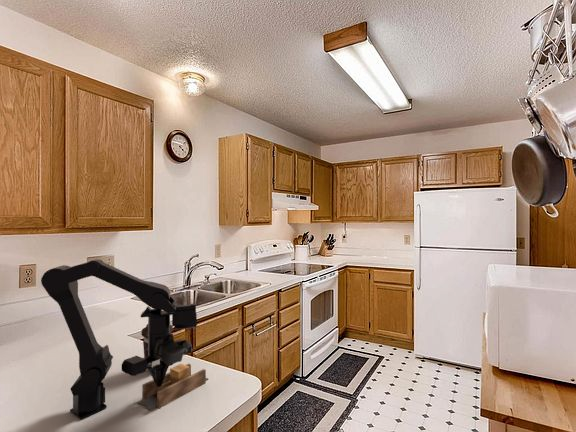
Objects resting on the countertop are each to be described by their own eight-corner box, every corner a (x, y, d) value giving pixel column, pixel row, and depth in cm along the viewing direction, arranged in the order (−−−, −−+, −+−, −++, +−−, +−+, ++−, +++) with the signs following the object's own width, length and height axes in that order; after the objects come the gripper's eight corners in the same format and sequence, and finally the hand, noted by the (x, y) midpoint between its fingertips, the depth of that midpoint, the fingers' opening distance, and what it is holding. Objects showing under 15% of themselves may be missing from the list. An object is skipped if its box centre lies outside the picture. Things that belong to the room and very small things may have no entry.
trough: (152, 411, 84) (152, 396, 84) (135, 402, 89) (135, 387, 89) (210, 380, 101) (210, 367, 101) (193, 373, 105) (193, 361, 105)
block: (178, 385, 93) (178, 372, 94) (170, 382, 96) (170, 368, 96) (189, 380, 97) (189, 366, 97) (181, 376, 99) (181, 363, 99)
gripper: (144, 347, 78) (144, 412, 78) (204, 326, 94) (204, 380, 94) (120, 338, 85) (120, 398, 84) (179, 320, 100) (179, 370, 100)
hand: (159, 386), depth 90 cm, fingers closed
